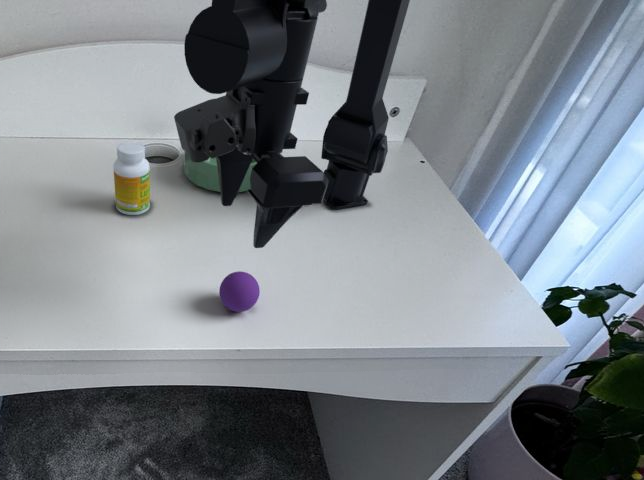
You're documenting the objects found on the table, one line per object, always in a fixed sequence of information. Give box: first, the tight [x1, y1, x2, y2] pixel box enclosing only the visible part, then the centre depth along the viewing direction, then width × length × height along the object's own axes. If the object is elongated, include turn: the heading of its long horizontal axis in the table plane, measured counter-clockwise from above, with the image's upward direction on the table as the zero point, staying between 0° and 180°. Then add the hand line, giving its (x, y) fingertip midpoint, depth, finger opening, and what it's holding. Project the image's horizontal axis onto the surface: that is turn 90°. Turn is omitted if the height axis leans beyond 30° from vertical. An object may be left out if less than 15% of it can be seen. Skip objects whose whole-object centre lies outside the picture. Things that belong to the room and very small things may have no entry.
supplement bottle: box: [113, 140, 151, 216], centre depth 76 cm, size 5×5×10 cm
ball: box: [218, 271, 261, 313], centre depth 63 cm, size 5×5×5 cm
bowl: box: [183, 151, 257, 193], centre depth 85 cm, size 14×14×5 cm
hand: (241, 225), depth 56 cm, fingers open, 9 cm apart
